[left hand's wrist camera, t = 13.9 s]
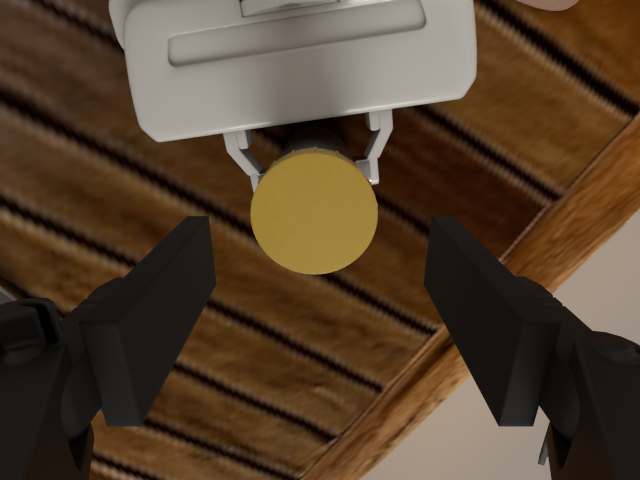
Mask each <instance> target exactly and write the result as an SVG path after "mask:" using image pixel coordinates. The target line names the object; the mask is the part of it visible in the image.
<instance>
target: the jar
mask: <svg viewBox="0 0 640 480" xmlns="http://www.w3.org/2000/svg"><path fill="white" fill-rule="evenodd" d="M314 146H316V147H317V148H322V149H327V150H332V151H334V152H336V150H337V151H338V152H339V153H340V154H341V155H343V156H345V157H347V158H348V159H350V160H351V161H352V162H353V160H352V158H351V156H350V154H349V152H348V150H347V148H346V146H345V144H344V142H343V141H342V139H341V138H340V137H339V136H338V135H337V134H336V133H335V132H333V131H332V130H330V129H327V128H325V127H320V126H311V127H306V128H303V129H301V130H299V131H298V132H296V133H295V134H294V135H293V136H292V137H291V138H290V139H289V141H288V142H287V144H286V146H285V148H284V149H283V151H282V153H281V155H280V157H279V159H280V158H282V157H283V156H285V155H287V154H289V153H291V152H292V150H295V151H297V150H301V149H306V148H314ZM279 159H278V160H279Z"/></svg>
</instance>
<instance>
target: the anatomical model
mask: <svg viewBox="0 0 640 480" xmlns="http://www.w3.org/2000/svg"><path fill="white" fill-rule="evenodd" d="M517 1H519V2H521V3H524V4H527V5H530V6H533V7H536V8H539V9H544V10H550V11H560V10H565V9H567V8H570V7H571V6H573V5H574V4H576V3H577V2H578V1H579V0H517Z"/></svg>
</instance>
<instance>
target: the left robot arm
mask: <svg viewBox="0 0 640 480" xmlns="http://www.w3.org/2000/svg"><path fill="white" fill-rule="evenodd" d="M215 286H216V277H215V268H214V260H213V251H212V242H211V234H210V225H209V216H187V217H186V218H185V219H184V220H183V221H182V222H181V223H180V224H179V225H178V226H177V227H176V228H175V229H174V230H173V231H172V232H170V233H169V234H168V235H167V236H166V237H165V238H164V239H163V240H162V241H161V242H160V243H159V244H158V245H157V246H156V247H155V248H154V249H153V250H152V251H151V252H150V253H149V254H148V255H147V256H146V257H145V258H144V259H143V260H142V261H141V262H139V263H138V264H137V265H136V266H135V267H134V268H133V269H132V270H131V271H130V272H129V273H128V274H127V275H126V276H125V277H124V278H115V279H113V280H111V281H109V282H107V283H105V284H103V285H101V286H99V287H98V288H97V289H96V290H95V291H94V292H92V293H91V294H90V295H89V296H88V298H87V299H85V300H84V301H82V302H81V303H80V304H79V305H78V308H75V309H74V310H72V311H71V312H70V313H69V314H68V315H67V316H66V317H65V318H64V319H62V320H61V321H60V320H59V316H58V313H57V310H56V306H55V303H54V302H53V301H51V300H50V299H48V298H38V297H36V298H27V297H26V296H25V295H24V294H23V293H22V292H20V291H19V290H18V289H17V288H15V287H14V286H13V285H11V284H10V283H8V282H7V281H5V280H3V279H2V278H0V480H89V473H90V465H91V458H92V451H93V444H94V434H93V429H92V426H91V421H92V419H93V418H94V417H95V415H96V414H97V412H98V411H99V409H100V408H101V407H102V410H103V414H104V417H105V421H106V425H107V426H142V424H143V422H144V420H145V418H146V416H147V414H148V412H149V411H150V409H151V407H152V405H153V403H154V401H155V399H156V397H157V395H158V393H159V392H160V390H161V388H162V386H163V384H164V382H165V380H166V378H167V376H168V375H169V373H170V371H171V369H172V367H173V365H174V363H175V361H176V359H177V358H178V356H179V354H180V352H181V350H182V348H183V346H184V344H185V342H186V341H187V339H188V337H189V335H190V333H191V331H192V329H193V327H194V325H195V323H196V322H197V320H198V318H199V316H200V314H201V312H202V310H203V308H204V306H205V305H206V303H207V301H208V299H209V297H210V295H211V293H212V291H213V289H214V288H215ZM424 286H425V288H426V289H427V291H428V293H429V295H430V297H431V299H432V301H433V303H434V305H435V306H436V308H437V310H438V312H439V314H440V316H441V318H442V320H443V322H444V323H445V325H446V327H447V329H448V331H449V333H450V335H451V337H452V339H453V341H454V342H455V344H456V346H457V348H458V350H459V352H460V354H461V356H462V358H463V359H464V361H465V363H466V365H467V367H468V369H469V371H470V373H471V375H472V376H473V378H474V380H475V382H476V384H477V386H478V388H479V390H480V391H481V393H482V395H483V397H484V399H485V401H486V403H487V405H488V407H489V409H490V411H491V412H492V414H493V416H494V418H495V420H496V422H497V424H498V426H533V425H534V421H535V417H536V414H537V410H538V407H539V406H540V407H541V409H542V410H543V411H544V413H545V414H546V416H547V417H548V419H549V420H550V423H549V426H548V429H547V432H546V436H545V439H544V442H543V446H542V449H541V452H540V456H539V461H538V464H540V465H544V464H545V460H546V457H549V464H550V471H551V478H552V480H640V346H639V345H638V344H636V343H634V342H632V341H630V340H628V339H625V338H623V337H621V336H617V335H613V334H610V333H606V332H598V331H592V330H591V329H590V328H589V327H588V326H586V325H585V324H584V323H583V322H582V321H581V320H580V319H579V318H577V317H576V316H575V315H574V314H573V313H572V312H571V311H570V310H568V309H567V308H566V307H565V306H562V303H561V302H560V301H558V300H557V299H556V298H553V295H552V294H551V293H549V292H548V291H547V290H546V289H545V288H544V287H543V286H542V285H540V284H538V283H536V282H534V281H532V280H530V279H528V278H526V277H515V276H514V275H513V274H512V273H511V272H510V271H509V270H508V269H507V268H506V267H505V266H504V265H503V264H502V263H501V262H499V261H498V260H497V259H496V258H495V257H494V256H493V255H492V254H491V253H490V252H489V251H488V250H487V249H486V248H485V247H484V246H483V245H482V244H481V243H480V242H479V241H478V240H477V239H476V238H475V237H474V236H473V235H472V234H471V233H470V232H468V231H467V230H466V229H465V228H464V227H463V226H462V225H461V224H460V223H459V222H458V221H457V220H456V219H455V218H454V217H453V216H431V225H430V234H429V242H428V251H427V260H426V268H425V277H424Z"/></svg>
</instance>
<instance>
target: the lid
mask: <svg viewBox="0 0 640 480" xmlns="http://www.w3.org/2000/svg"><path fill="white" fill-rule="evenodd" d="M257 183H258V186H257V188H256V190H255V192H254V195H253V198H252V201H251V224H252V228H253V232H254V234H255V237H256V239H257V241H258V243H259V244H260V246H261V247H262V249H263V250H264V251H265V253H266V254H267V255H268V256H269V257H270V258H272V259H273V260H274V261H275V262H277V263H278V264H280V265H282V266H283V267H285V268H288V269H290V270H293V271H296V272H299V273H305V274H324V273H330V272H333V271H336V270H339V269H341V268H344V267H345V266H347V265H349V264H350V263H352V262H353V261H355V260H356V259H357V258H358V257H359V256H360V255H361V254H362V253H363V252H364V251H365V249H366V248H367V247H368V245H369V244H370V242H371V240H372V238H373V236H374V233H375V230H376V226H377V219H378V209H377V206H378V203H377V202H376V198H375V194H374V192H373V190H372V187H371V186H372V184H371V182H370V180H369V178H368V179H367V178H366V177H365V175H364V173H363V172H362V171H361V170H360V168H359V166H358V165H357V163H356V162H352V161H351V160H350V159H348V158H347V157H345V156H343V155H341V154H340V153H339V152H338V151H337V150H336V152H334V151H332V150H327V149H322V148H317V147H316V146H314V148H306V149H301V150H297V151H295V150H292V152H291V153H289V154H287V155H285V156H283V157H282V158H280V159H279V160H277V161H273V163H272V165H271V167H270V168H269V169H268V170H267V171H266V173H265V174H264V176H263V177H260V179H259V180H258V182H257Z"/></svg>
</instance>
